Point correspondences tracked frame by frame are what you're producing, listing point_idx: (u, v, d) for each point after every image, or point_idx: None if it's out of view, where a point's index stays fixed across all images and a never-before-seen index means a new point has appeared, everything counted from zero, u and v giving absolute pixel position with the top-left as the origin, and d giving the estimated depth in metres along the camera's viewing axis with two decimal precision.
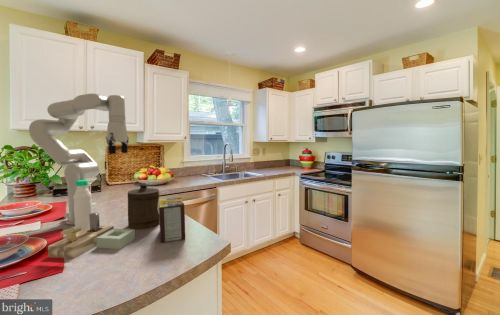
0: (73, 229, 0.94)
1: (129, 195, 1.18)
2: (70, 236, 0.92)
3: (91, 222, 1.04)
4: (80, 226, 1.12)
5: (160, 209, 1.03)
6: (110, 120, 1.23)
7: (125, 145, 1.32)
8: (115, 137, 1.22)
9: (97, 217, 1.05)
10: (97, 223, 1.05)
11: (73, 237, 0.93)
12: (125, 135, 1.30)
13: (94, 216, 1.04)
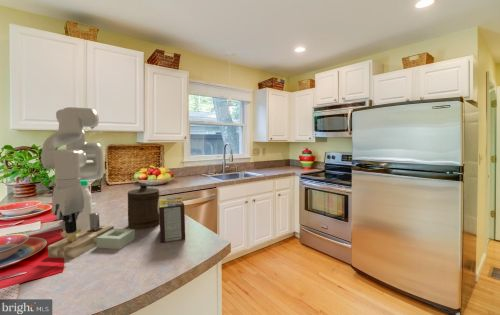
0: None
1: (129, 195, 1.18)
2: (70, 237, 0.93)
3: (91, 222, 1.04)
4: (80, 226, 1.12)
5: (160, 209, 1.03)
6: (57, 186, 0.89)
7: (73, 220, 0.93)
8: (63, 210, 0.88)
9: (97, 217, 1.05)
10: (97, 223, 1.05)
11: (73, 238, 0.93)
12: (81, 202, 0.95)
13: (94, 216, 1.04)
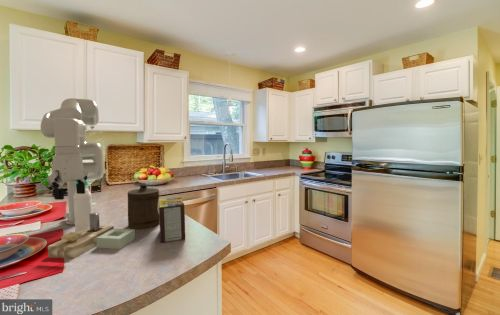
0: (73, 234, 0.94)
1: (129, 195, 1.18)
2: (70, 241, 0.93)
3: (91, 222, 1.04)
4: (80, 226, 1.12)
5: (160, 209, 1.03)
6: (56, 152, 0.89)
7: (82, 183, 0.97)
8: (63, 176, 0.88)
9: (97, 217, 1.05)
10: (97, 223, 1.05)
11: None
12: (80, 171, 0.95)
13: (94, 216, 1.04)
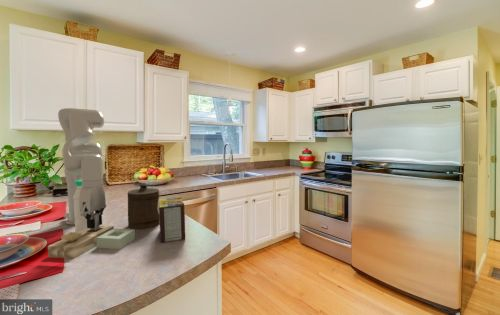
0: (73, 234, 0.94)
1: (129, 195, 1.18)
2: (70, 241, 0.93)
3: None
4: (80, 226, 1.12)
5: (160, 209, 1.03)
6: (83, 186, 1.01)
7: (99, 215, 1.07)
8: (89, 207, 1.00)
9: (97, 217, 1.05)
10: (97, 223, 1.05)
11: None
12: (103, 200, 1.07)
13: (94, 216, 1.04)
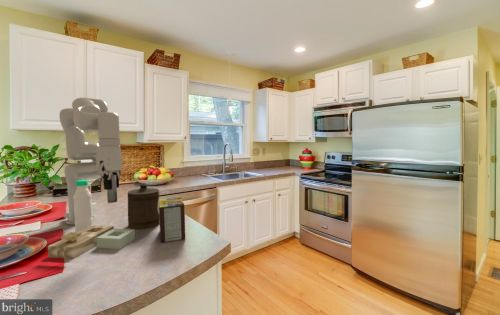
0: (73, 234, 0.94)
1: (129, 195, 1.18)
2: (70, 241, 0.93)
3: None
4: (80, 226, 1.12)
5: (160, 209, 1.03)
6: (100, 144, 0.96)
7: (116, 178, 1.02)
8: (106, 166, 0.95)
9: (114, 178, 1.00)
10: (114, 185, 1.00)
11: None
12: (120, 162, 1.02)
13: (111, 177, 0.99)
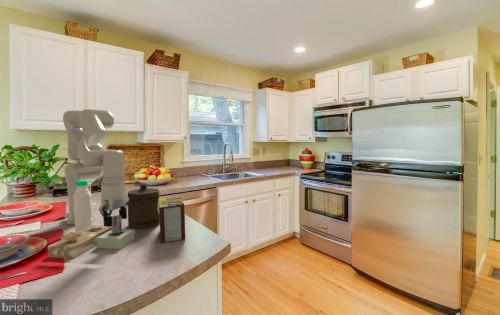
0: (73, 234, 0.94)
1: (129, 195, 1.18)
2: (70, 241, 0.93)
3: (113, 225, 0.99)
4: (80, 226, 1.12)
5: (160, 209, 1.03)
6: (105, 183, 0.97)
7: (124, 209, 1.05)
8: (111, 205, 0.96)
9: (120, 220, 1.01)
10: (119, 226, 1.01)
11: None
12: (124, 198, 1.03)
13: (117, 219, 1.00)
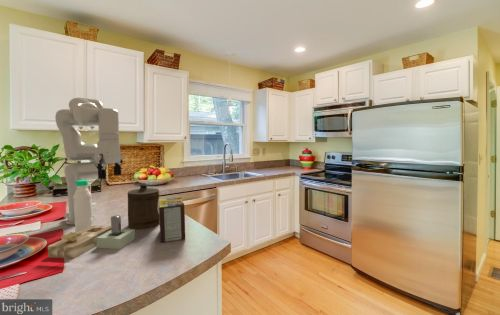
0: (73, 234, 0.94)
1: (129, 195, 1.18)
2: (70, 241, 0.93)
3: (113, 225, 0.99)
4: (80, 226, 1.12)
5: (160, 209, 1.03)
6: (100, 138, 1.03)
7: (118, 166, 1.12)
8: (106, 159, 1.02)
9: (119, 220, 1.01)
10: (119, 226, 1.01)
11: None
12: (118, 155, 1.09)
13: (116, 219, 1.00)
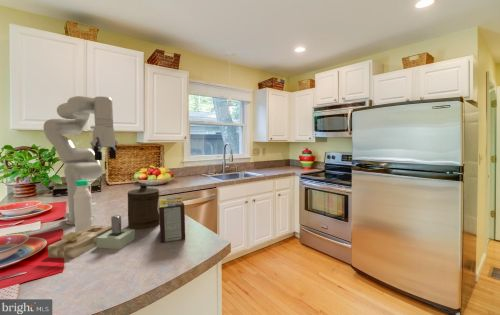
0: (73, 234, 0.94)
1: (129, 195, 1.18)
2: (70, 241, 0.93)
3: (113, 225, 0.99)
4: (80, 226, 1.12)
5: (160, 209, 1.03)
6: (96, 124, 1.14)
7: (113, 150, 1.22)
8: (101, 142, 1.13)
9: (119, 220, 1.00)
10: (119, 226, 1.00)
11: None
12: (113, 140, 1.20)
13: (116, 219, 0.99)
